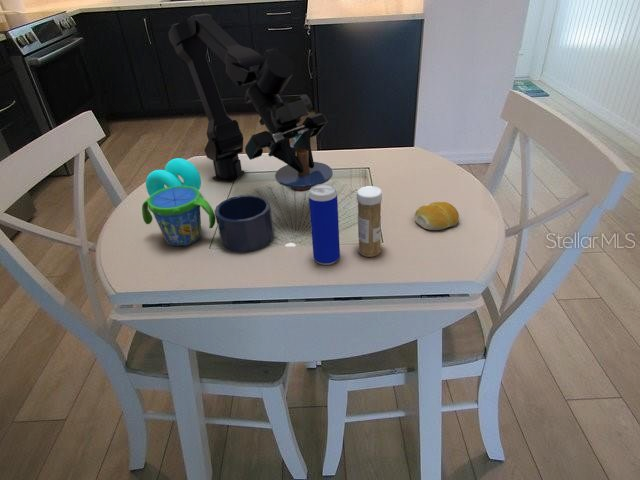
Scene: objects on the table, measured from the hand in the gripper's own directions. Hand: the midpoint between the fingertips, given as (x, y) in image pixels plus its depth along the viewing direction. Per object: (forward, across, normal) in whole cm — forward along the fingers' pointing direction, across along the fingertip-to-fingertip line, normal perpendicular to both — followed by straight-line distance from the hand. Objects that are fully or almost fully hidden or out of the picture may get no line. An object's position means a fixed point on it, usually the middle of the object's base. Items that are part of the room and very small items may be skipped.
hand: (307, 169), depth 96 cm
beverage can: (+18, -8, -1) cm, 20 cm away
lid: (0, 0, +2) cm, 2 cm away
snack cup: (-2, -24, +19) cm, 31 cm away
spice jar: (+21, 0, -4) cm, 22 cm away
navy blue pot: (+6, -14, +12) cm, 19 cm away
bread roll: (+23, +18, -6) cm, 30 cm away
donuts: (-13, -17, +31) cm, 38 cm away
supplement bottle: (-2, +10, +20) cm, 22 cm away
